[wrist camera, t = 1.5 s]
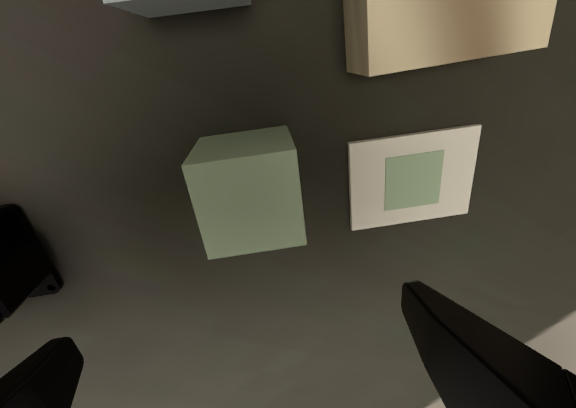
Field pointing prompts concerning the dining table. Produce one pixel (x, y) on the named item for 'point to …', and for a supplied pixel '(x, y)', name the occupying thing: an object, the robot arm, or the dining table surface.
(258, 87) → the dining table surface
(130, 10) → the blue-grey cube
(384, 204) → the card
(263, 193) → the sage cube
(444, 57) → the birch block
